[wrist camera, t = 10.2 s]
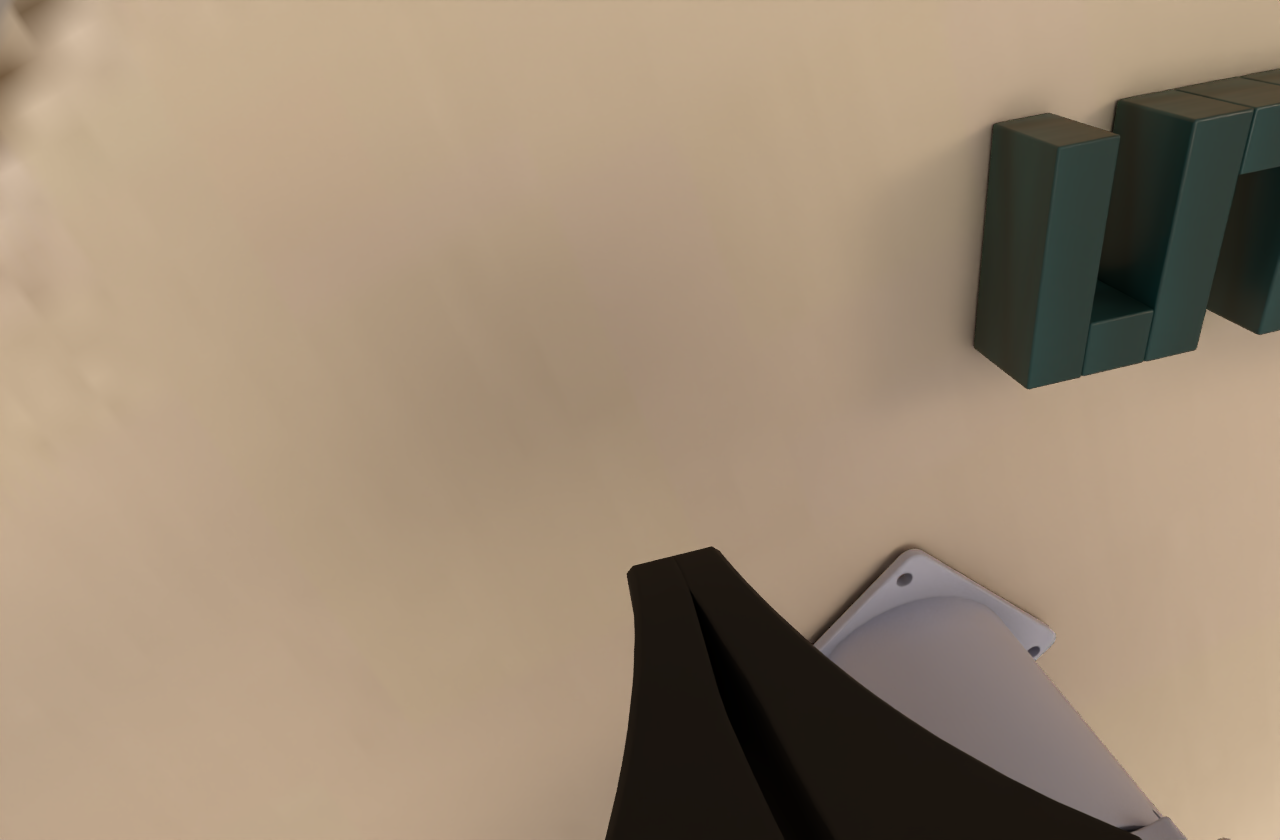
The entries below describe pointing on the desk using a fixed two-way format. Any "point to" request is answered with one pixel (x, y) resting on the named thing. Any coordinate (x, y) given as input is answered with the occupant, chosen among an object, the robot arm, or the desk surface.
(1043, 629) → the robot arm
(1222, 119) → the letter S
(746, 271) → the desk surface
